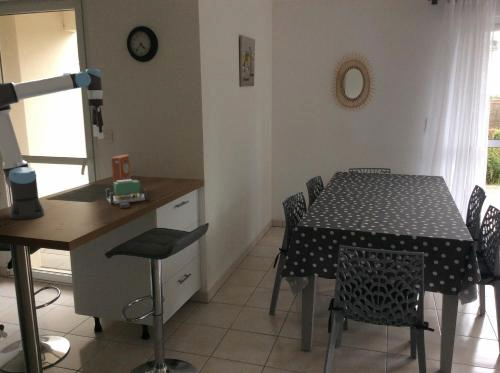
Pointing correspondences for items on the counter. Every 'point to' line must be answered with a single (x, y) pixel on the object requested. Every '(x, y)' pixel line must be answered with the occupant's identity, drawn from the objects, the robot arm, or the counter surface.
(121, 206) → the tape roll
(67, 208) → the counter surface
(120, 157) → the orange cardboard box
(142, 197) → the chassis
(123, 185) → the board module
